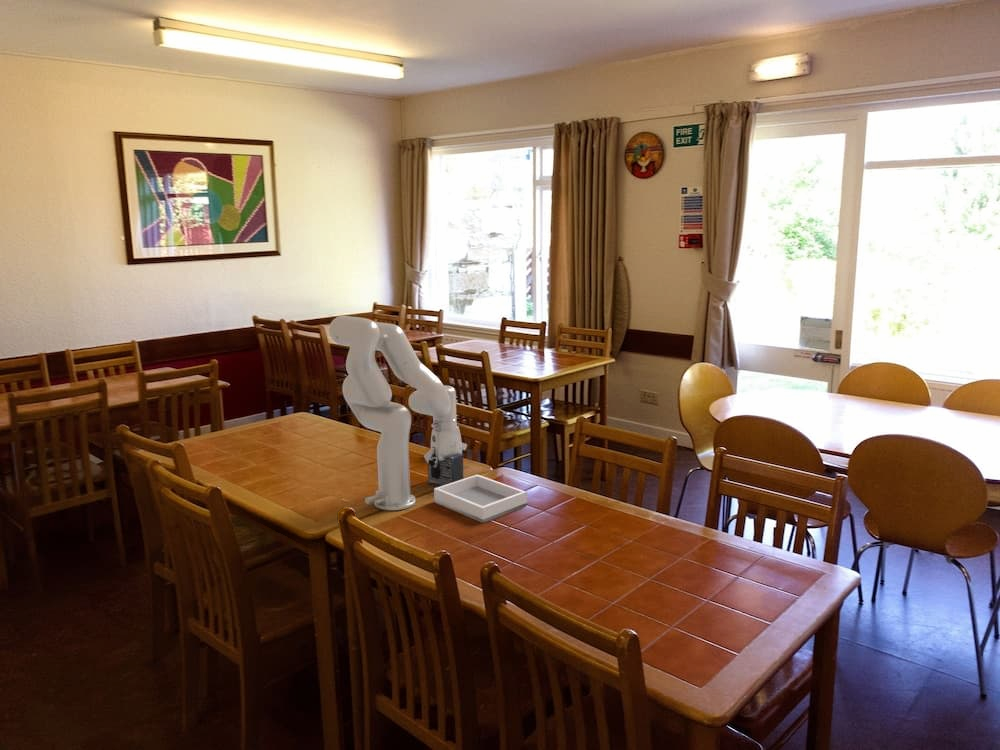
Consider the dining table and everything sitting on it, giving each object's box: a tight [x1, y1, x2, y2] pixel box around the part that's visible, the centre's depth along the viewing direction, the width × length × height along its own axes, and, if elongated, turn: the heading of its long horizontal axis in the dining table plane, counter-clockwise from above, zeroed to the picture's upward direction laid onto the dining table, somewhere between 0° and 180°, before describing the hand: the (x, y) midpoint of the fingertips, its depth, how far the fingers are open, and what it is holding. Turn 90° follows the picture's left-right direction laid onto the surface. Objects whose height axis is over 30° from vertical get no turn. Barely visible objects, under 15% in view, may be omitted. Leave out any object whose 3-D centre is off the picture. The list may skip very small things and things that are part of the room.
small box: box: [427, 454, 464, 487], centre depth 234 cm, size 11×6×10 cm, turn 57°
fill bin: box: [433, 474, 527, 524], centre depth 217 cm, size 18×22×4 cm
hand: (446, 473), depth 235 cm, fingers open, 9 cm apart
